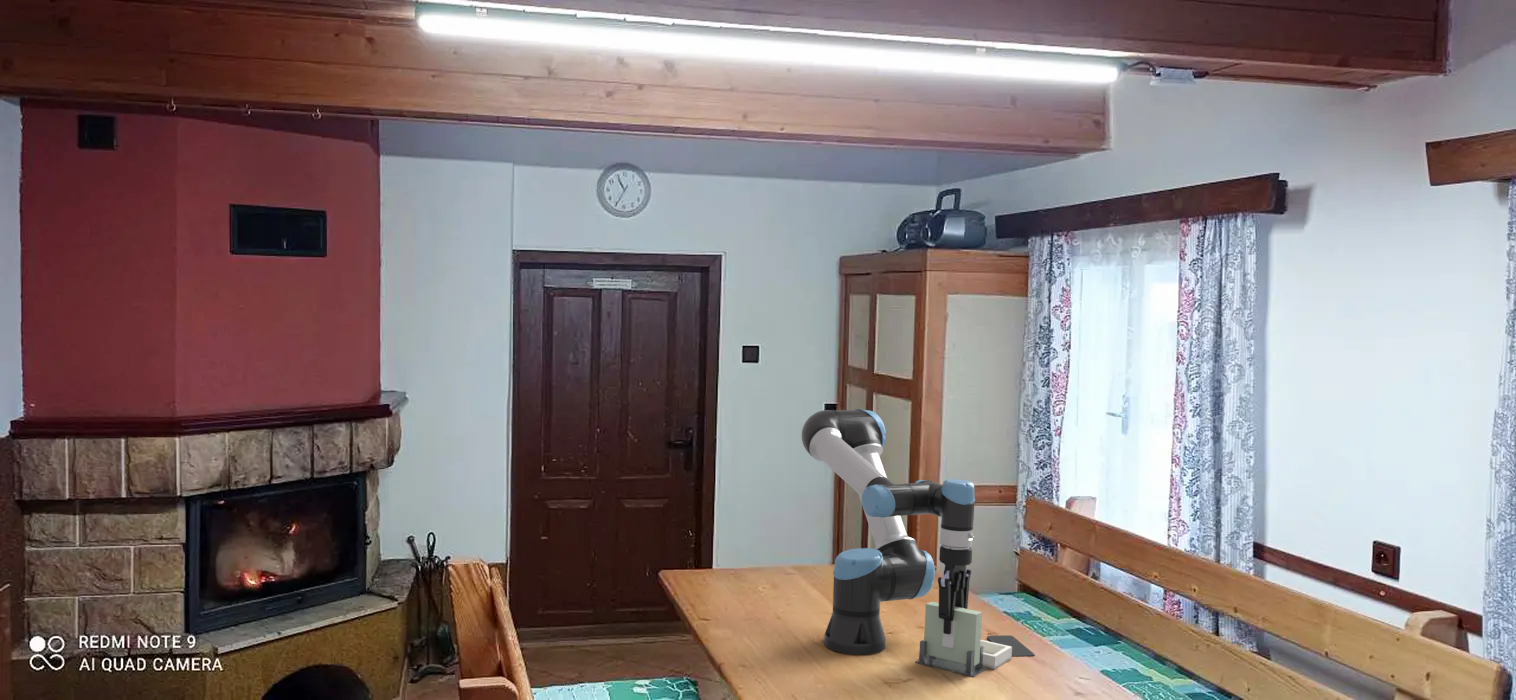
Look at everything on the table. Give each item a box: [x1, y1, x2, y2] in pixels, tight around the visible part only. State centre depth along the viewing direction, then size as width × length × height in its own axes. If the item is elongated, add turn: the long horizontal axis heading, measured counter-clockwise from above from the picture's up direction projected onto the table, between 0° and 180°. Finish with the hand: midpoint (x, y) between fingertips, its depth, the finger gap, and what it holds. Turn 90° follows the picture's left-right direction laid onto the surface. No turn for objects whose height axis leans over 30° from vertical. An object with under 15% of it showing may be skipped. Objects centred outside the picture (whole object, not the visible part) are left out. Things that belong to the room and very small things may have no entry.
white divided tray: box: [980, 639, 1012, 670], centre depth 267 cm, size 18×10×3 cm, turn 55°
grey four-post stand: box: [914, 639, 987, 678], centre depth 259 cm, size 15×7×5 cm, turn 55°
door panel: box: [923, 601, 983, 666], centre depth 259 cm, size 13×4×12 cm, turn 55°
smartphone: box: [986, 634, 1035, 658], centre depth 276 cm, size 7×1×15 cm
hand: (951, 644), depth 259 cm, fingers closed on door panel, 3 cm apart
